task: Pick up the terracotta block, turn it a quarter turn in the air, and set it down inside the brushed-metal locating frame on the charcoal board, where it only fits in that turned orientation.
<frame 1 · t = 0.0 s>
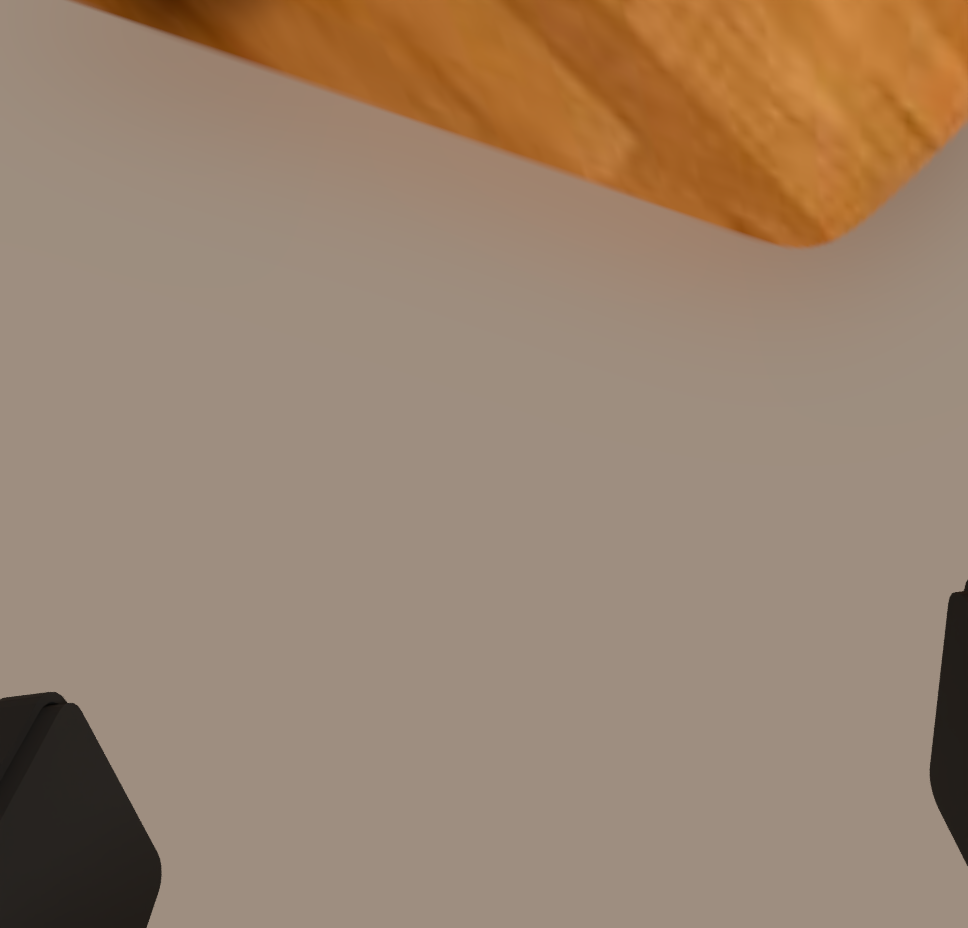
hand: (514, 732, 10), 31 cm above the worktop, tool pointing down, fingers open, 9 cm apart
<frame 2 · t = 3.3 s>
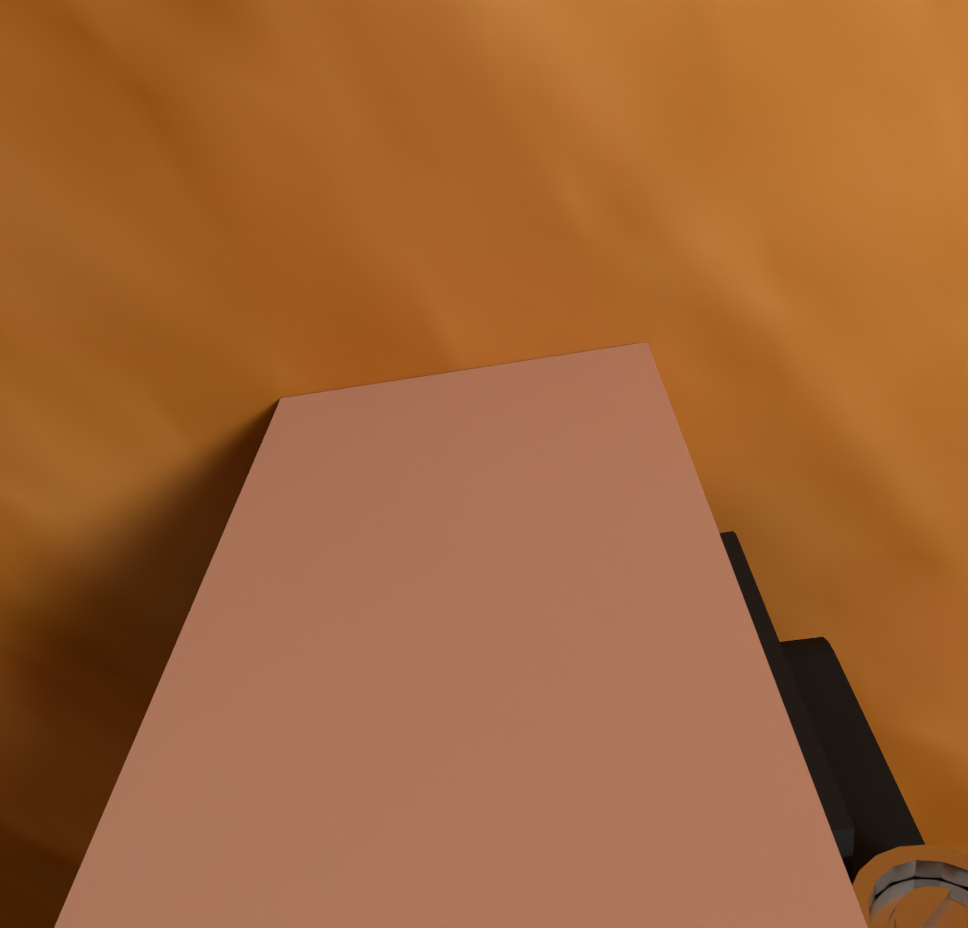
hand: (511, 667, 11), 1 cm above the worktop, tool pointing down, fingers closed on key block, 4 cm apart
key block: (510, 619, 12), on the worktop, touching gripper
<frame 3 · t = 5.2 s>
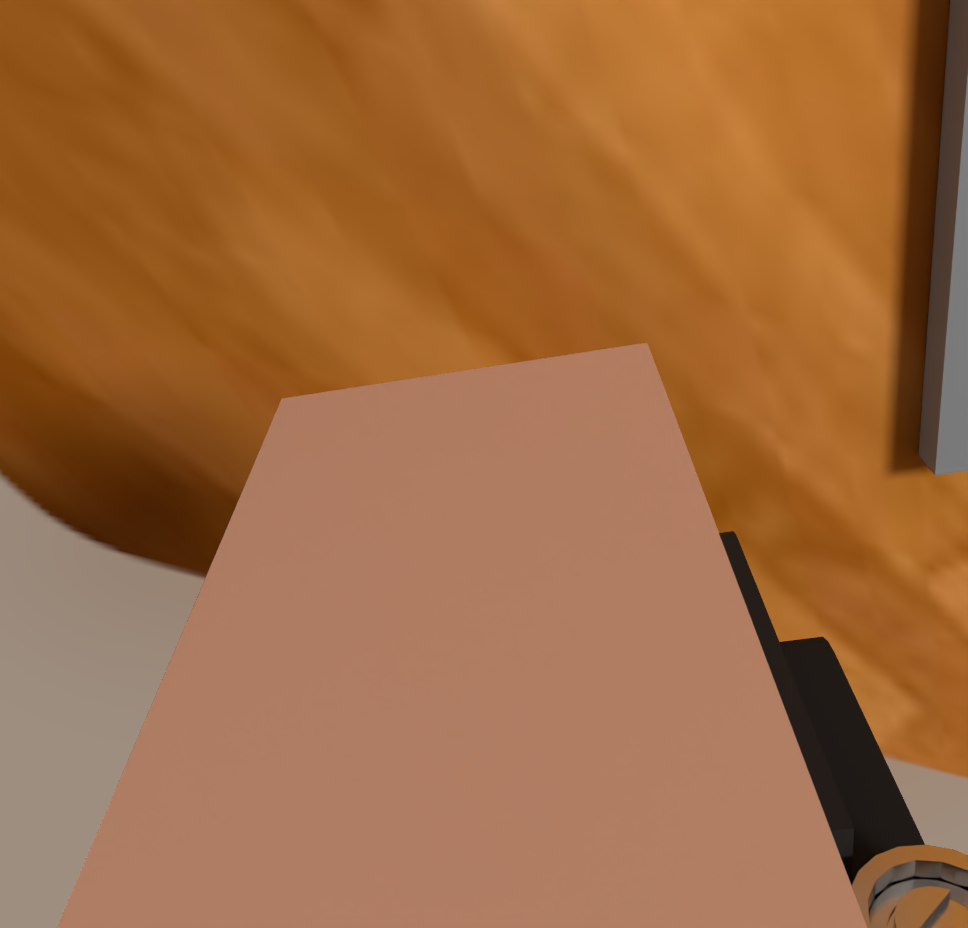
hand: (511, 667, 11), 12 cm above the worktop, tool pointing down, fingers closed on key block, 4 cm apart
key block: (510, 619, 12), point 11 cm above the worktop, touching gripper
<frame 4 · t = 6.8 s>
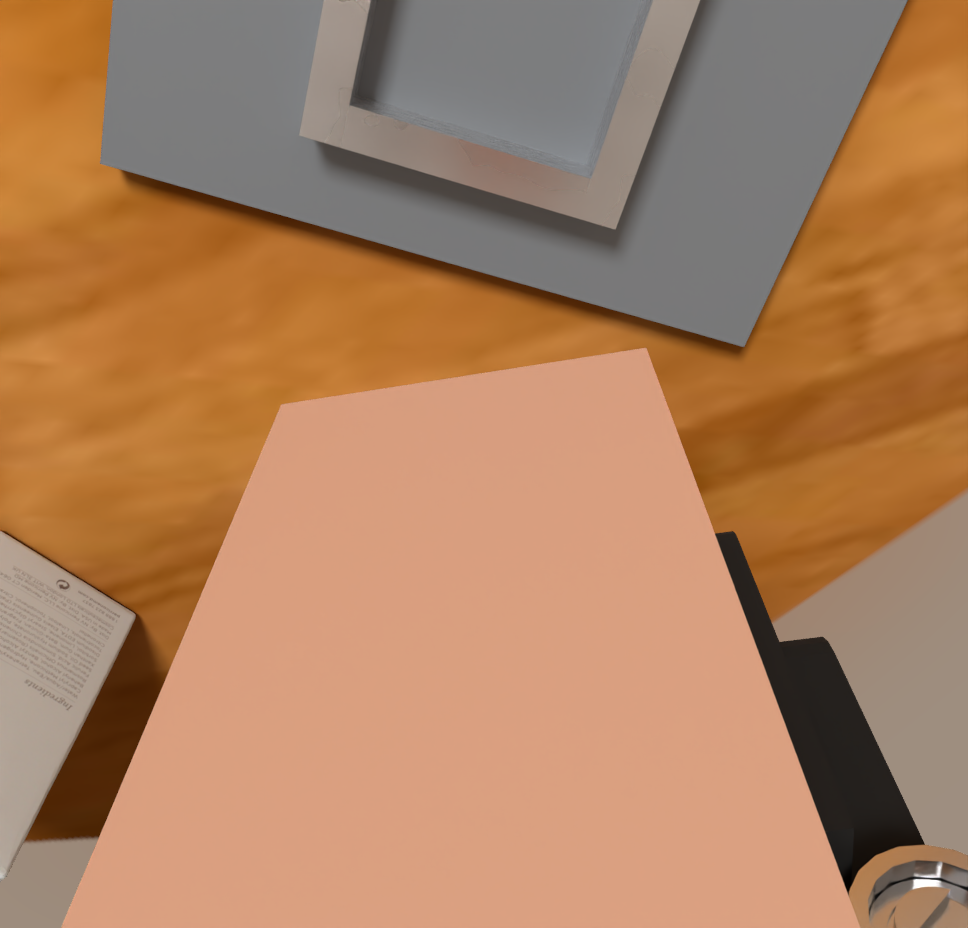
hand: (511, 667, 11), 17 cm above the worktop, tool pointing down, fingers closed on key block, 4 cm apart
small box: (18, 629, 33), on the worktop
key block: (510, 623, 12), point 16 cm above the worktop, touching gripper
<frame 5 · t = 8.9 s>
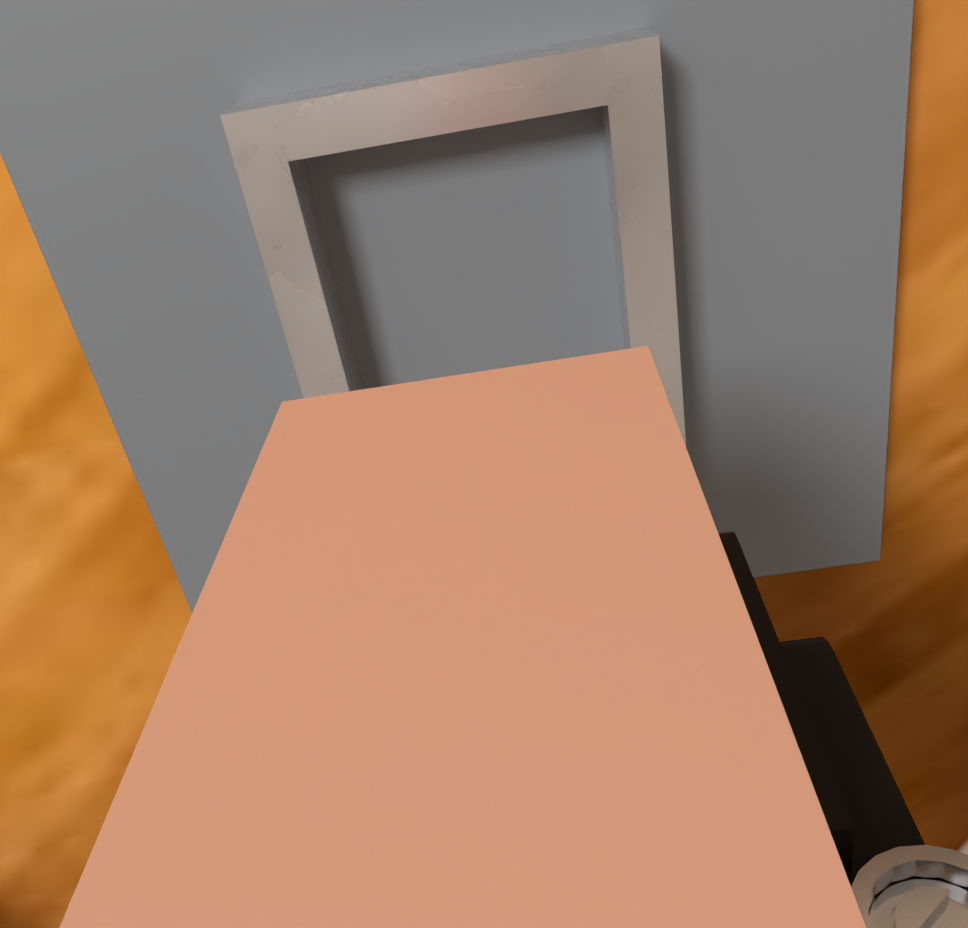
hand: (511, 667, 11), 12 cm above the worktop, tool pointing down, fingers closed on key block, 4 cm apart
nest board: (484, 312, 21), on the worktop
key block: (510, 622, 12), point 11 cm above the worktop, touching gripper
when the fingers open (4 cm above the worktop, at t = 10.5 s): key block drops 2 cm, resting on nest board.
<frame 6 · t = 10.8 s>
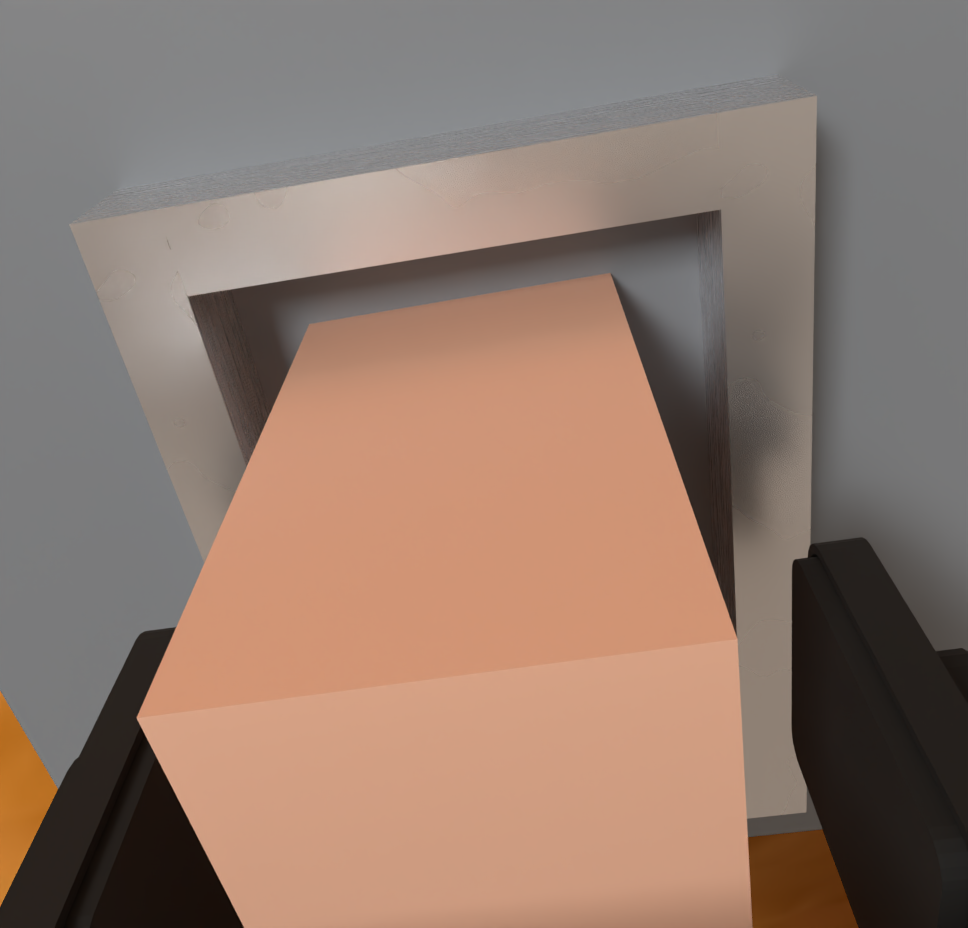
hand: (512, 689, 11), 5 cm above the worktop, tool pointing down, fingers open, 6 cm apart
nest board: (505, 478, 15), on the worktop
key block: (502, 518, 14), point 1 cm above the worktop, touching nest board
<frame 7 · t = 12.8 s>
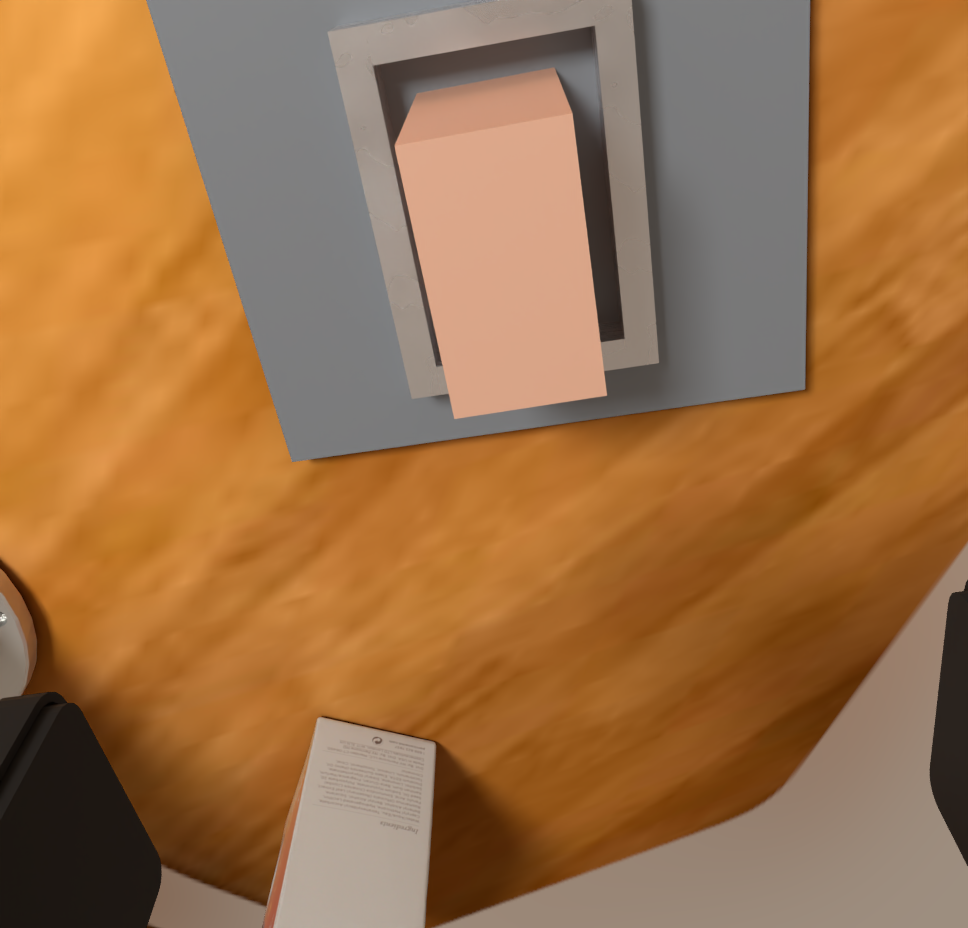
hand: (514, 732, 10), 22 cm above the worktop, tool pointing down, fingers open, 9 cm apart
small box: (359, 779, 43), on the worktop
nest board: (507, 190, 29), on the worktop
key block: (505, 201, 28), point 1 cm above the worktop, touching nest board
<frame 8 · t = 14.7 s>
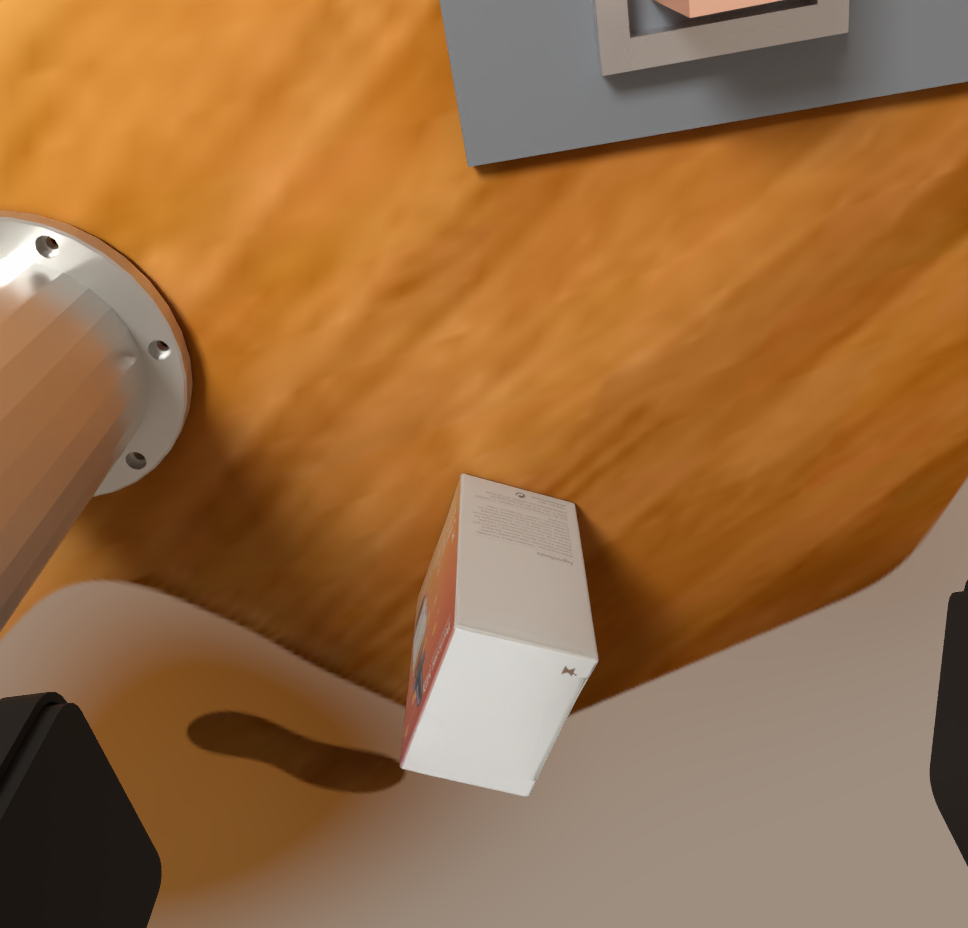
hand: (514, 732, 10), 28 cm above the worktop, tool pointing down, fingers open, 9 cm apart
small box: (493, 550, 44), on the worktop
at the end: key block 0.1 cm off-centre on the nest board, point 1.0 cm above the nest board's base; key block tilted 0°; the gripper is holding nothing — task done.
